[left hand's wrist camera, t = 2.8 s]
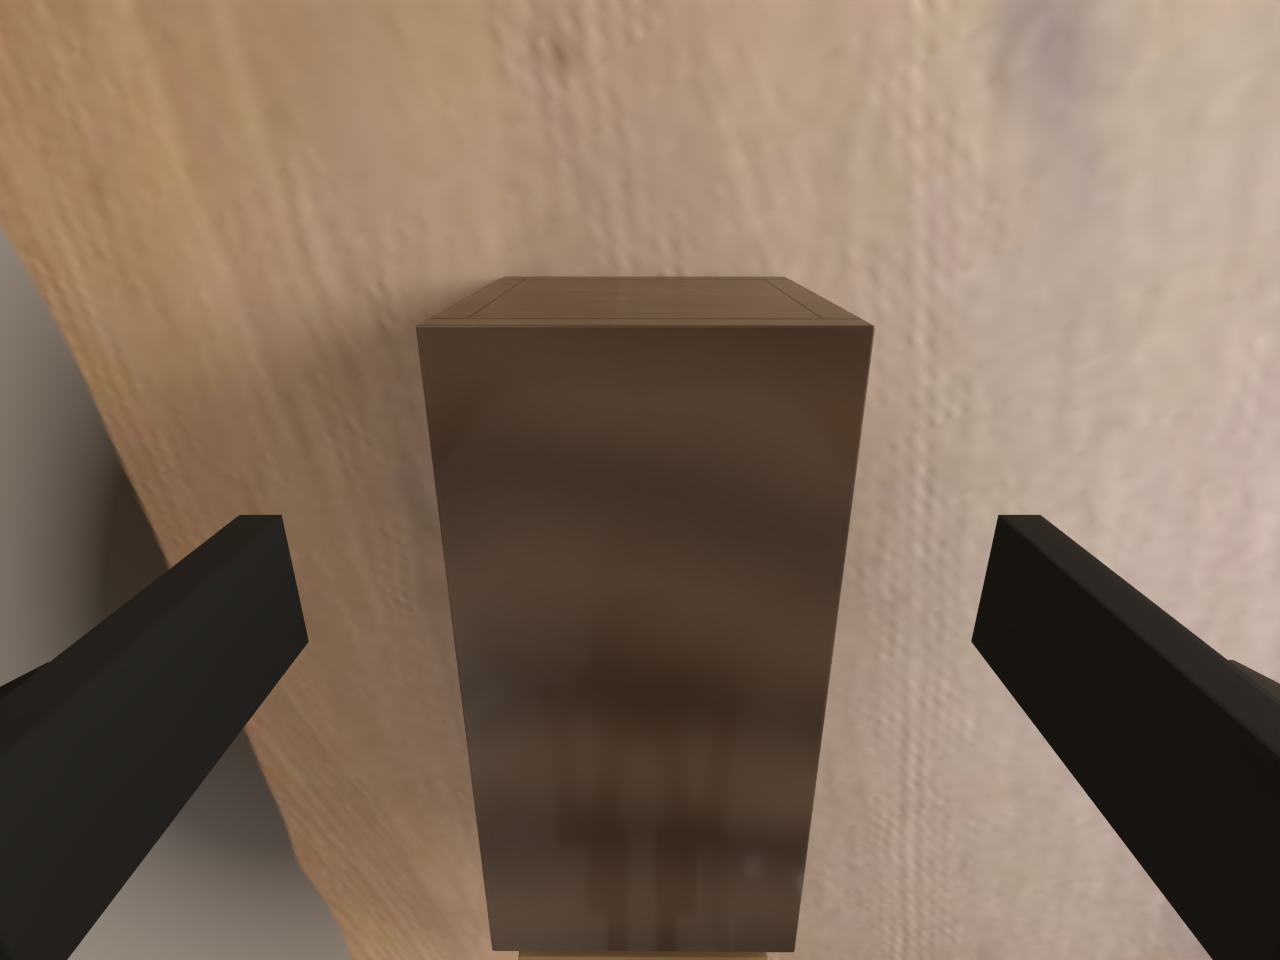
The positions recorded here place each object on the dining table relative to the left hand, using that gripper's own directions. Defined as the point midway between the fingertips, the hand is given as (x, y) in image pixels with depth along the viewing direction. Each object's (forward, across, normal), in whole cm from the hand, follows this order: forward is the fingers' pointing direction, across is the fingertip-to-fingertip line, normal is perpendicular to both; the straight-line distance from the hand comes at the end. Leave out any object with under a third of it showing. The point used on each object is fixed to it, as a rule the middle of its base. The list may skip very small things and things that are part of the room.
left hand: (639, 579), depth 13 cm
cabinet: (+15, 0, -6) cm, 16 cm away
